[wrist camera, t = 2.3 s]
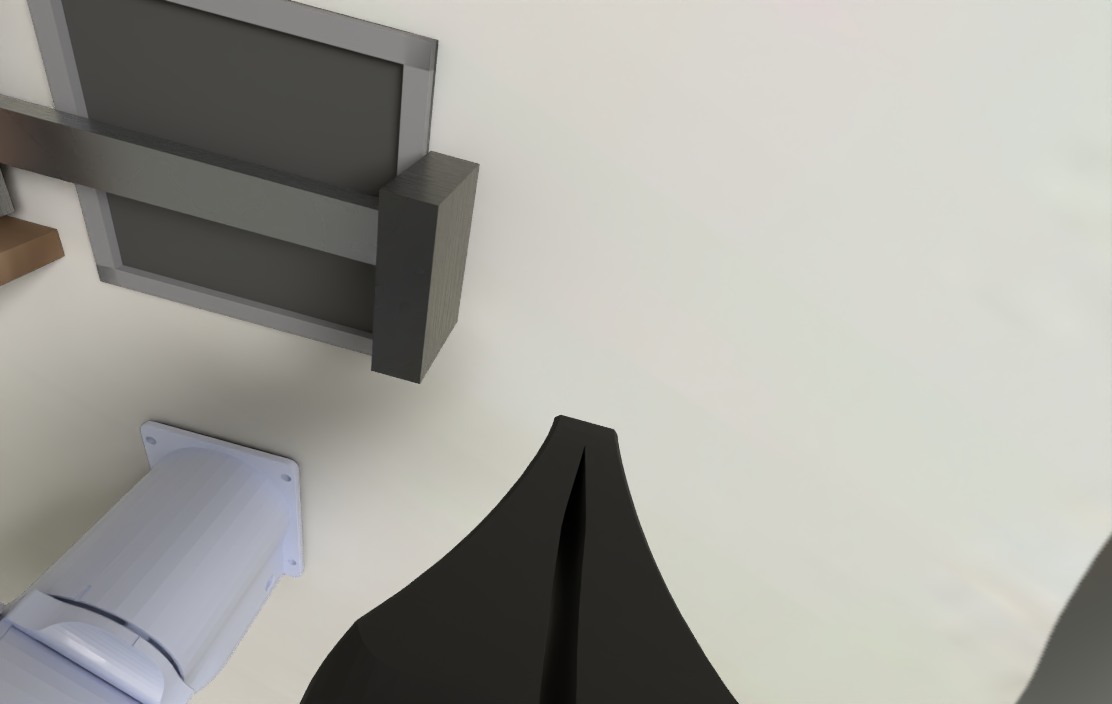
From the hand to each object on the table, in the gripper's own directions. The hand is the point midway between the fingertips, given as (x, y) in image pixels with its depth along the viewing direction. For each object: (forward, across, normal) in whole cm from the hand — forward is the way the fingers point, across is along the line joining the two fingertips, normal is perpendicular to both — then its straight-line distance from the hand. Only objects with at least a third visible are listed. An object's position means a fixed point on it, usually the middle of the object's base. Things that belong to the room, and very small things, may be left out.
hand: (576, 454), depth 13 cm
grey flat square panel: (+9, +14, 0) cm, 16 cm away
